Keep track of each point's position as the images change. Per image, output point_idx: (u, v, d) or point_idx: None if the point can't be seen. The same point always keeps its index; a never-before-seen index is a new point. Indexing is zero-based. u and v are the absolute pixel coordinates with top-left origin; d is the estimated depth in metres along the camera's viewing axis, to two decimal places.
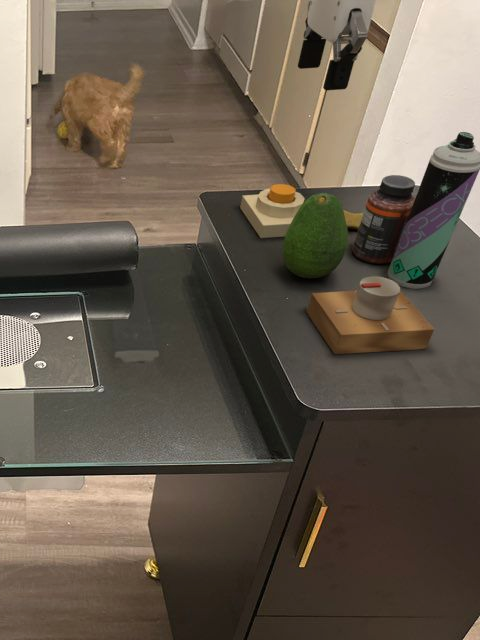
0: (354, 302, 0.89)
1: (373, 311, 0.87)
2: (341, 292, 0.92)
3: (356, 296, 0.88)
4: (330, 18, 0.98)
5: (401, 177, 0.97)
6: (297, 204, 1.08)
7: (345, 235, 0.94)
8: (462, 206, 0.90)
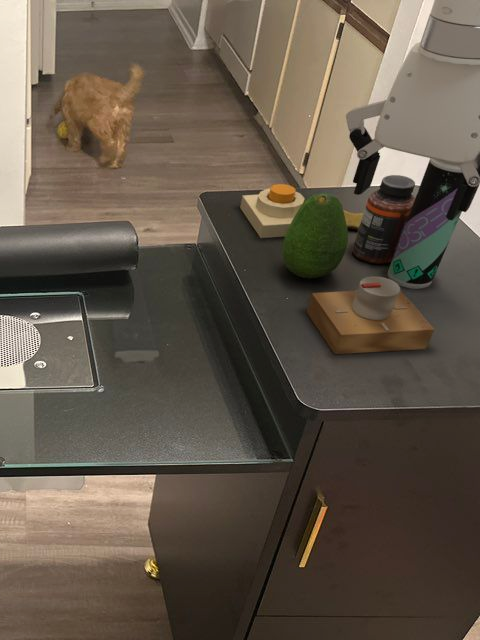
0: (354, 302, 0.89)
1: (373, 311, 0.87)
2: (341, 292, 0.92)
3: (356, 296, 0.88)
4: (460, 136, 0.72)
5: (401, 177, 0.97)
6: (297, 204, 1.08)
7: (345, 235, 0.94)
8: None
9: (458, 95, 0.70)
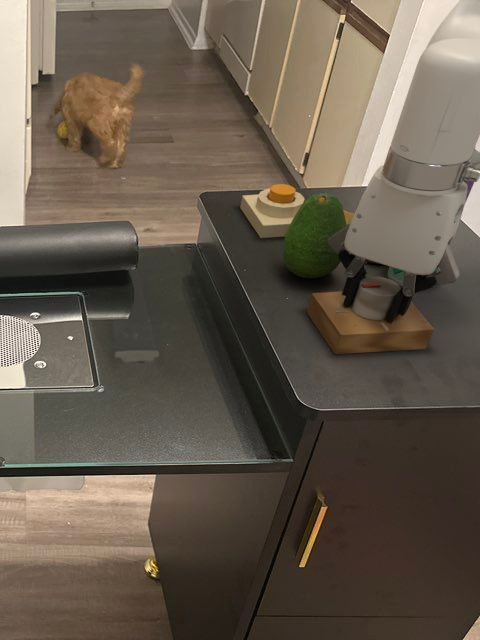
0: (354, 302, 0.89)
1: (373, 311, 0.87)
2: (341, 292, 0.92)
3: (356, 296, 0.88)
4: (419, 252, 0.79)
5: None
6: (297, 204, 1.08)
7: None
8: None
9: (416, 218, 0.78)
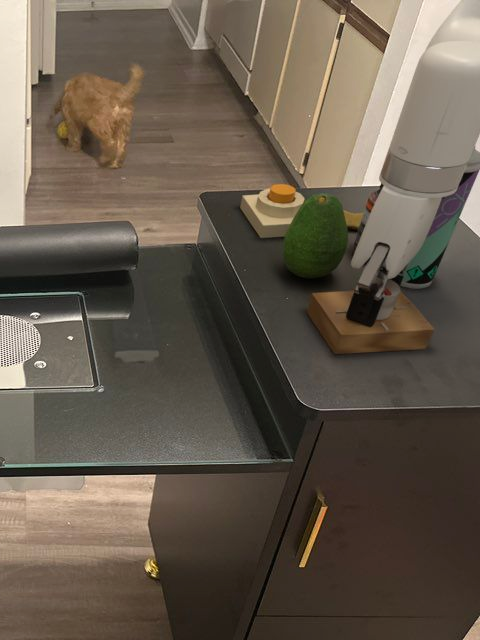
0: (378, 313, 0.87)
1: None
2: (341, 292, 0.92)
3: None
4: (426, 234, 0.83)
5: None
6: (297, 204, 1.08)
7: (345, 235, 0.94)
8: (462, 206, 0.90)
9: (436, 209, 0.79)
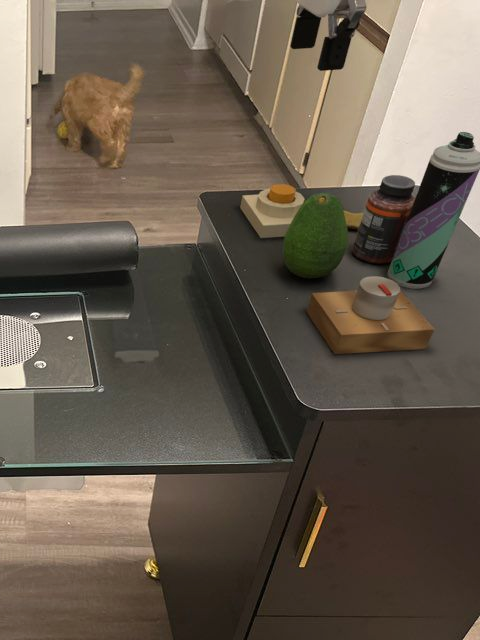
0: (378, 313, 0.87)
1: None
2: (341, 292, 0.92)
3: (380, 307, 0.86)
4: None
5: (401, 177, 0.97)
6: (297, 204, 1.08)
7: (345, 235, 0.94)
8: (462, 206, 0.90)
9: None
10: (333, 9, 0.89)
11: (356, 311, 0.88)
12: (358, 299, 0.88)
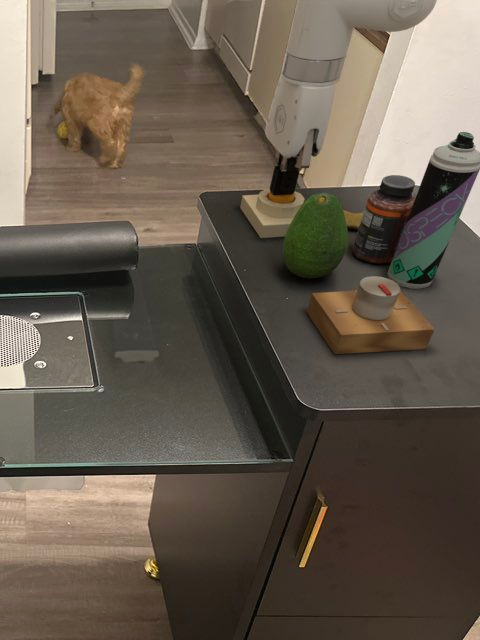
0: (378, 313, 0.87)
1: None
2: (341, 292, 0.92)
3: (380, 307, 0.86)
4: None
5: (401, 177, 0.97)
6: (297, 204, 1.08)
7: (345, 235, 0.94)
8: (462, 206, 0.90)
9: None
10: (296, 153, 1.01)
11: (356, 311, 0.88)
12: (358, 299, 0.88)
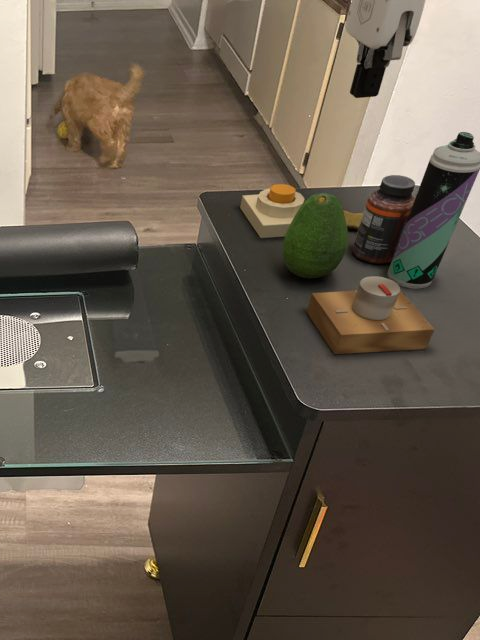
0: (378, 313, 0.87)
1: None
2: (341, 292, 0.92)
3: (380, 307, 0.86)
4: None
5: (401, 177, 0.97)
6: (297, 204, 1.08)
7: (345, 235, 0.94)
8: (462, 206, 0.90)
9: None
10: (386, 41, 0.90)
11: (356, 311, 0.88)
12: (358, 299, 0.88)
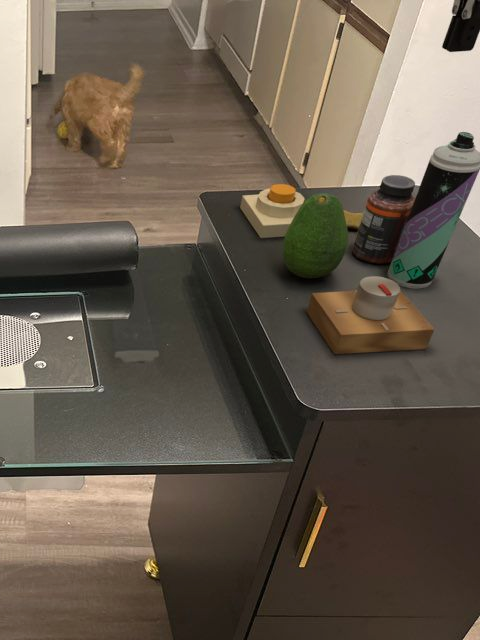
0: (378, 313, 0.87)
1: None
2: (341, 292, 0.92)
3: (380, 307, 0.86)
4: None
5: (401, 177, 0.97)
6: (297, 204, 1.08)
7: (345, 235, 0.94)
8: (462, 206, 0.90)
9: None
10: None
11: (356, 311, 0.88)
12: (358, 299, 0.88)
